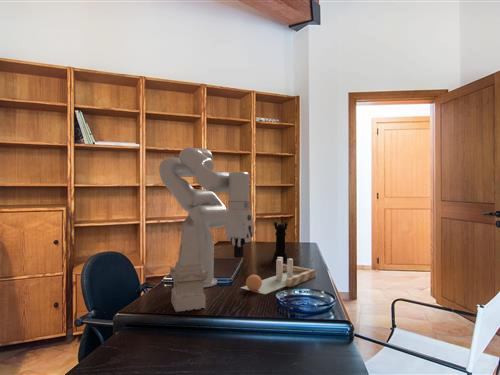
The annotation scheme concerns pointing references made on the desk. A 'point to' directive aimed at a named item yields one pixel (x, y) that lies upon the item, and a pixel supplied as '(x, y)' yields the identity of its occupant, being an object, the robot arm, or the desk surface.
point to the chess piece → (280, 241)
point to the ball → (254, 282)
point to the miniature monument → (188, 272)
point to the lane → (271, 284)
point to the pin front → (278, 270)
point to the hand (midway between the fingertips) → (238, 257)
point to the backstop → (299, 275)
